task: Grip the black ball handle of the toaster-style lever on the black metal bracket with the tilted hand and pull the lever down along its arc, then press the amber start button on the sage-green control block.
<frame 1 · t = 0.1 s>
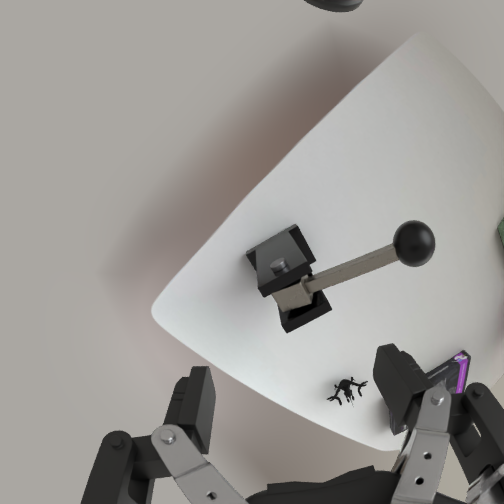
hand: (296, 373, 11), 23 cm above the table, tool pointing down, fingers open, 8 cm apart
lever: (354, 268, 21), point 13 cm above the table, hinge at 20.0°
box: (426, 390, 42), on the table
toaster bracket: (280, 254, 34), on the table
creature: (345, 385, 41), on the table
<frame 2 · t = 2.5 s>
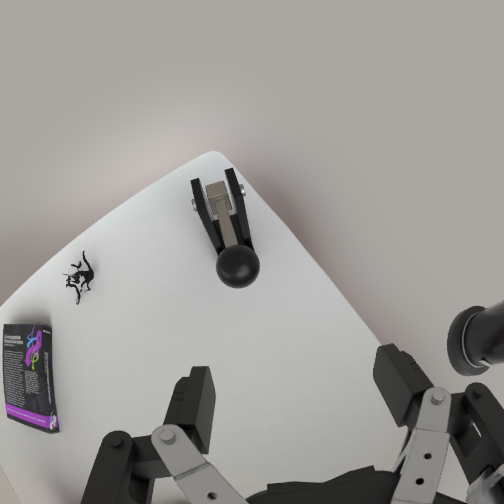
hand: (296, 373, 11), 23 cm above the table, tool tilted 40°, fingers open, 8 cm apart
lever: (226, 227, 26), point 13 cm above the table, hinge at 20.0°
box: (32, 376, 32), on the table
toaster bracket: (232, 241, 40), on the table
creature: (84, 283, 40), on the table
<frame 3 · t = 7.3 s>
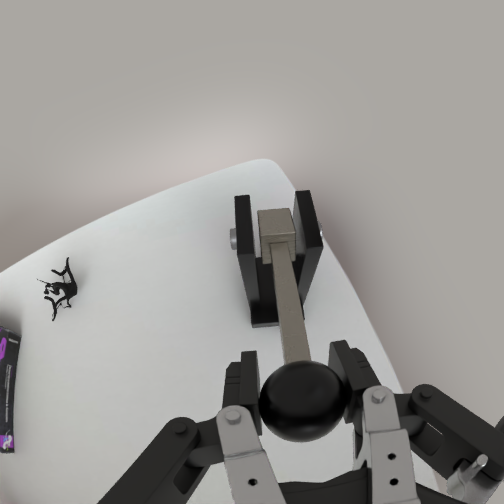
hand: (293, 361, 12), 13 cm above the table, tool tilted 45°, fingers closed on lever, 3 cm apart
lever: (288, 303, 14), point 13 cm above the table, hinge at 20.0°, touching gripper
toaster bracket: (274, 292, 28), on the table
creature: (66, 295, 29), on the table
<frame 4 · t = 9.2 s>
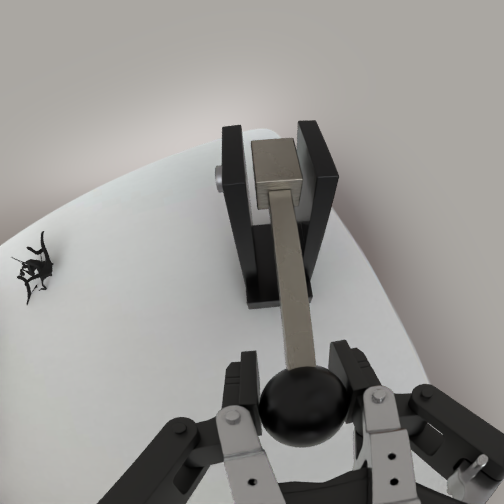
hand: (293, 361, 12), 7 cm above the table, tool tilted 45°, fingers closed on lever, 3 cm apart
lever: (291, 281, 11), point 10 cm above the table, hinge at -7.3°, touching gripper
toaster bracket: (275, 267, 23), on the table
creature: (42, 277, 25), on the table
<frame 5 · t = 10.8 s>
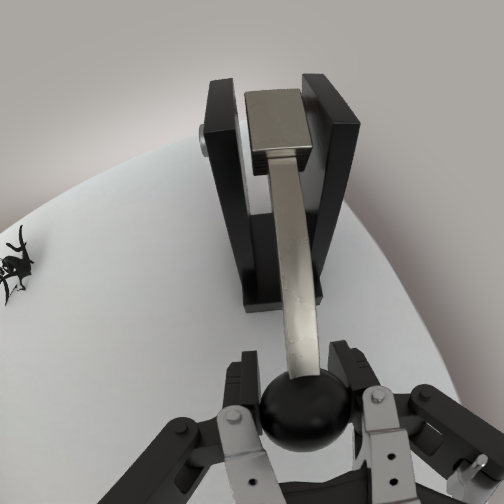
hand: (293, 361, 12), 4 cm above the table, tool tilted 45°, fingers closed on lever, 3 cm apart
lever: (295, 275, 10), point 9 cm above the table, hinge at -25.3°, touching gripper
toaster bracket: (277, 263, 20), on the table
creature: (23, 276, 21), on the table
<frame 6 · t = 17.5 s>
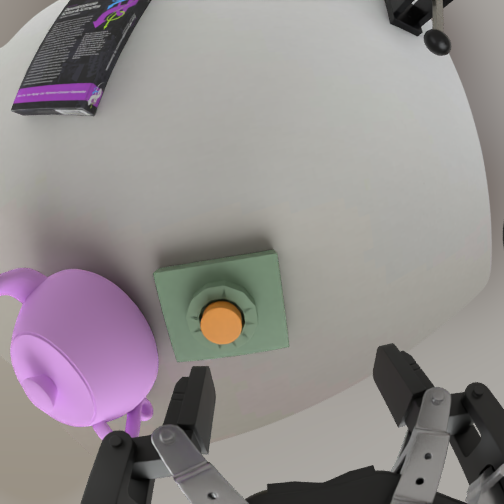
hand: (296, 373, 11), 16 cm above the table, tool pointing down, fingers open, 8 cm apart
control block: (223, 305, 28), on the table
start button: (221, 322, 23), point 4 cm above the table, slide at 0.1 cm
teapot: (91, 327, 28), on the table
lever: (437, 10, 15), point 9 cm above the table, hinge at -22.4°
box: (83, 51, 22), on the table
toaster bracket: (400, 15, 23), on the table
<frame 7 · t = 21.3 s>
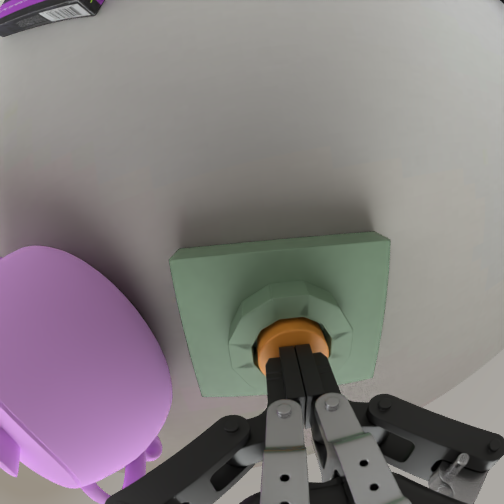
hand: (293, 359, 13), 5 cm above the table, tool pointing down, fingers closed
control block: (284, 315, 17), on the table
start button: (291, 349, 13), point 4 cm above the table, slide at -0.6 cm, touching gripper
teapot: (72, 330, 18), on the table
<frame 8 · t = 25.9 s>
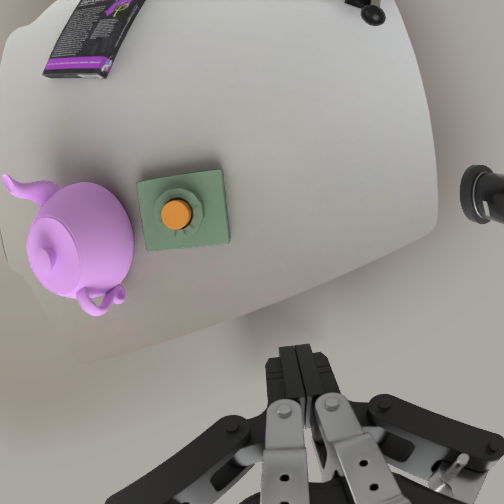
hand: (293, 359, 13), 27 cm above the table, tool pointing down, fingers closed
control block: (184, 209, 37), on the table
start button: (176, 214, 33), point 4 cm above the table, slide at 0.1 cm
teapot: (89, 230, 38), on the table
box: (98, 32, 28), on the table
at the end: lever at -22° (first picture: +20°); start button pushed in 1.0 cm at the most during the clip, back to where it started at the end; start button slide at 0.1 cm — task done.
